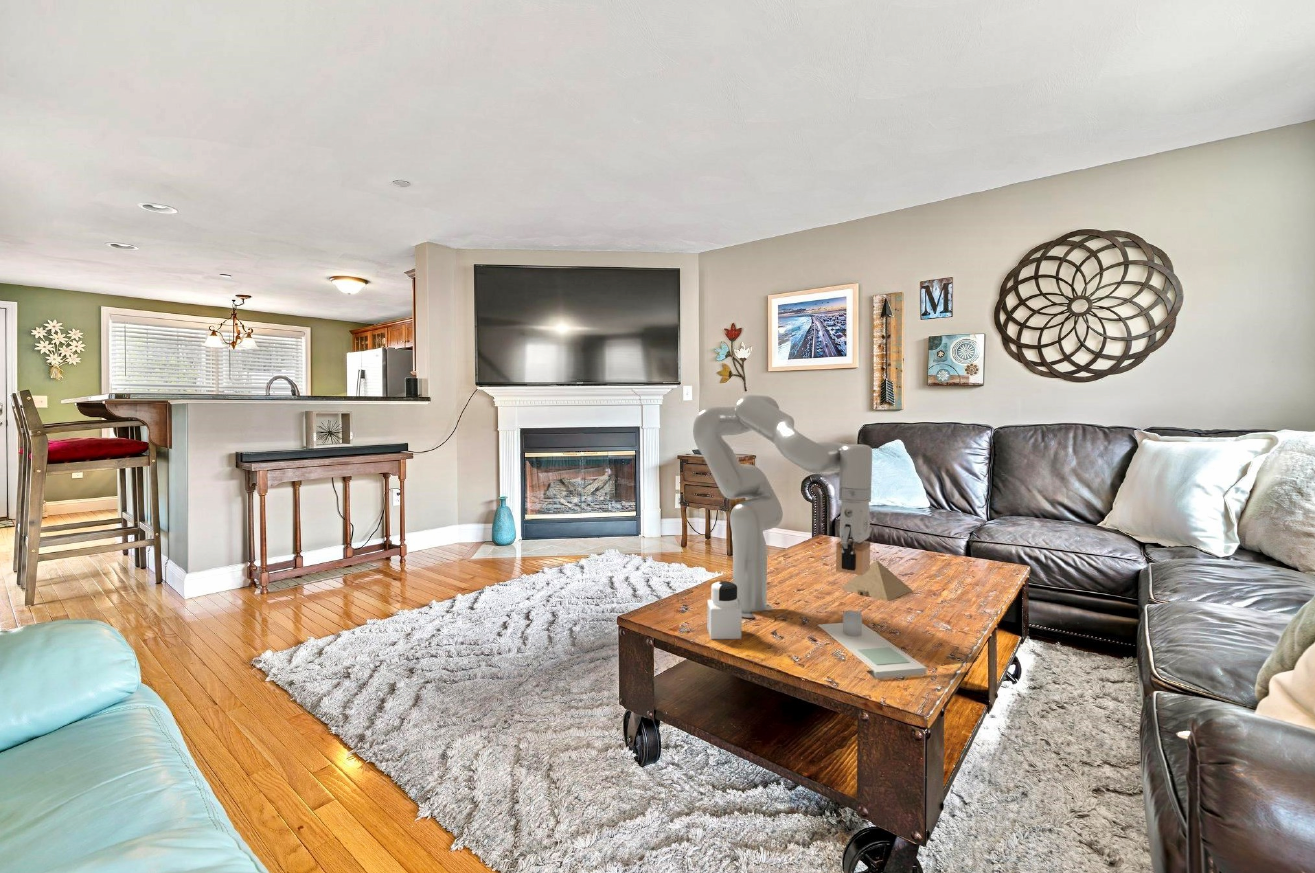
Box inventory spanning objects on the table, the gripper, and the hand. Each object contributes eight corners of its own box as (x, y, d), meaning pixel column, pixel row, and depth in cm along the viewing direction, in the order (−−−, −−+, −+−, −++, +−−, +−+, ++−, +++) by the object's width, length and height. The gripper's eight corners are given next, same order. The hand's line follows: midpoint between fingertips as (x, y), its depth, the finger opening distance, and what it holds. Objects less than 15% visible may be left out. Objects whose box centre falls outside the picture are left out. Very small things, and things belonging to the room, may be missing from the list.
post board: (875, 678, 127) (876, 648, 126) (817, 630, 154) (817, 605, 154) (926, 674, 129) (927, 645, 128) (859, 627, 156) (860, 602, 156)
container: (736, 627, 156) (736, 578, 155) (741, 639, 148) (742, 587, 147) (707, 628, 155) (707, 579, 155) (710, 639, 148) (711, 588, 147)
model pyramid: (837, 590, 189) (837, 559, 189) (865, 580, 201) (866, 550, 200) (887, 603, 177) (887, 570, 176) (913, 591, 188) (914, 560, 188)
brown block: (862, 575, 143) (863, 546, 143) (835, 571, 147) (836, 543, 146) (869, 569, 148) (870, 541, 148) (843, 565, 152) (844, 538, 152)
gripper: (860, 500, 137) (857, 577, 138) (879, 491, 151) (877, 561, 152) (828, 497, 141) (826, 571, 142) (850, 489, 156) (848, 556, 157)
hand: (852, 565), depth 147 cm, fingers closed on brown block, 6 cm apart
